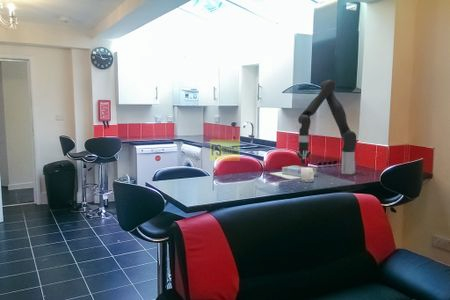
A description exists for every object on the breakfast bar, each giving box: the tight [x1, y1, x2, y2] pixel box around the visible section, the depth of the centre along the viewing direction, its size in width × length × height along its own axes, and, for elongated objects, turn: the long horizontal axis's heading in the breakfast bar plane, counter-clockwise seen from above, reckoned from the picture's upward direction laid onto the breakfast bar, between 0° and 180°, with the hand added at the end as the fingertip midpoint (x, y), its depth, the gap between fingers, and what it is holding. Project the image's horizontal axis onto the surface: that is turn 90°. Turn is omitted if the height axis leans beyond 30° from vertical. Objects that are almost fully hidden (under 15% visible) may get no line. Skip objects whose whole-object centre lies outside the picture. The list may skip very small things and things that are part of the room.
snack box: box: [281, 164, 318, 177], centre depth 278 cm, size 21×6×15 cm
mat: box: [268, 171, 301, 180], centre depth 279 cm, size 22×26×1 cm
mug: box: [300, 166, 315, 183], centre depth 256 cm, size 8×11×9 cm
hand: (303, 163), depth 283 cm, fingers closed
